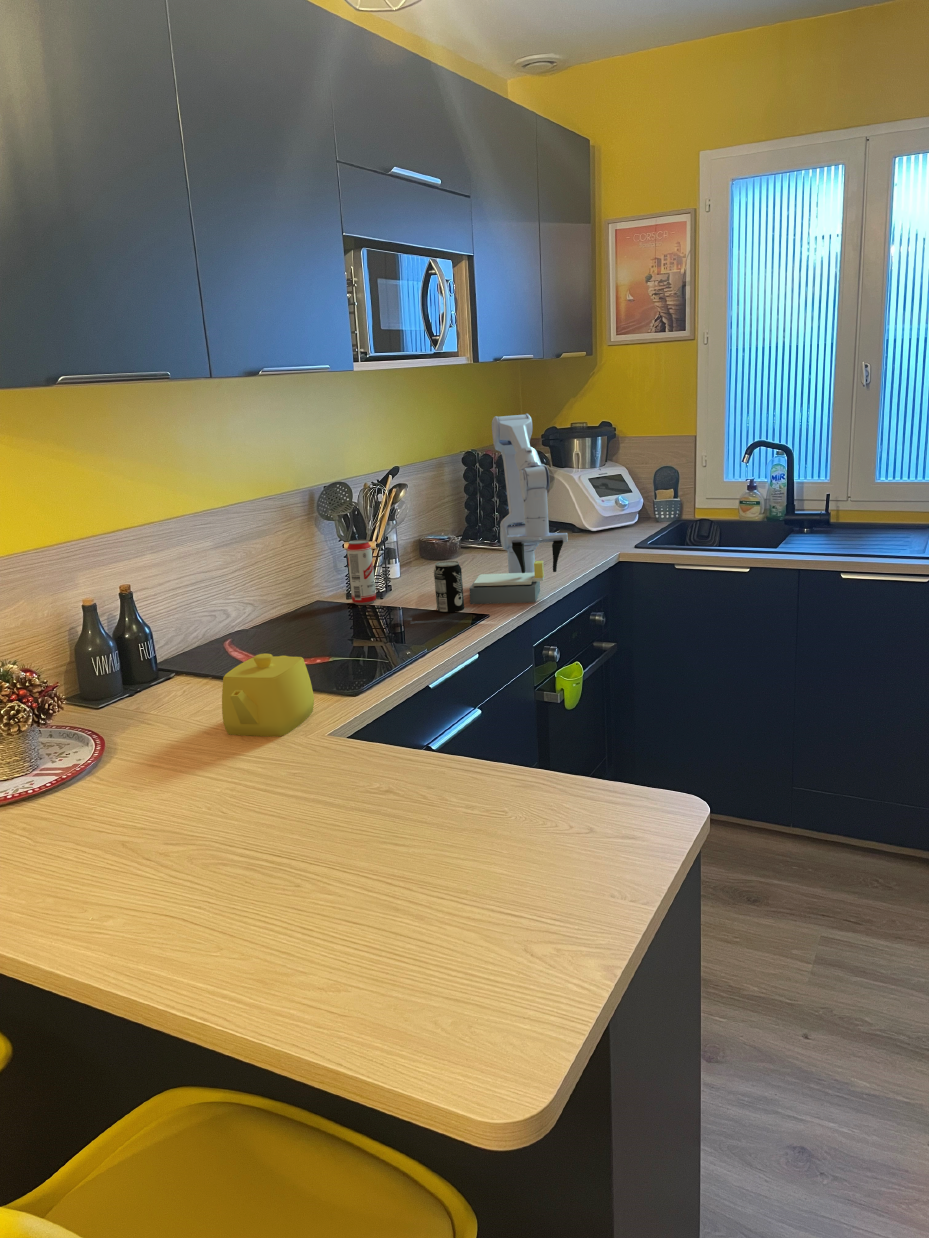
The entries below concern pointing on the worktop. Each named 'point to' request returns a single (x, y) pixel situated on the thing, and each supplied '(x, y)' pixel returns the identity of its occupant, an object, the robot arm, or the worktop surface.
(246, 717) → the teapot
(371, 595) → the beer can
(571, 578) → the worktop surface
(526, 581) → the lid
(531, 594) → the tub
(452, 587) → the beverage can
